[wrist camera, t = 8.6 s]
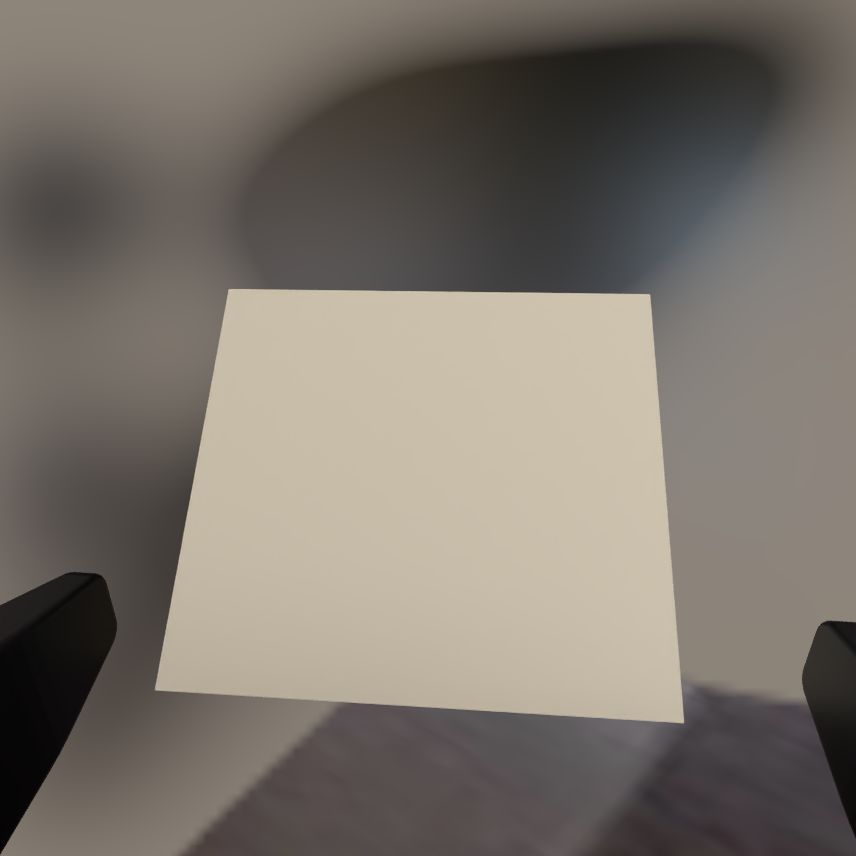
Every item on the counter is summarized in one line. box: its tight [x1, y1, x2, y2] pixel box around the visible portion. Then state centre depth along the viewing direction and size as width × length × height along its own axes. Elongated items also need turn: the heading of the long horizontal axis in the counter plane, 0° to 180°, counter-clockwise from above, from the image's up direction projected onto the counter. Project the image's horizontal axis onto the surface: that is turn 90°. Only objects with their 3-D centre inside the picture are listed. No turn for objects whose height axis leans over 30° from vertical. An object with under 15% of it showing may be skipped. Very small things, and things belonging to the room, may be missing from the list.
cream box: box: [155, 289, 684, 723], centre depth 12 cm, size 5×5×11 cm
